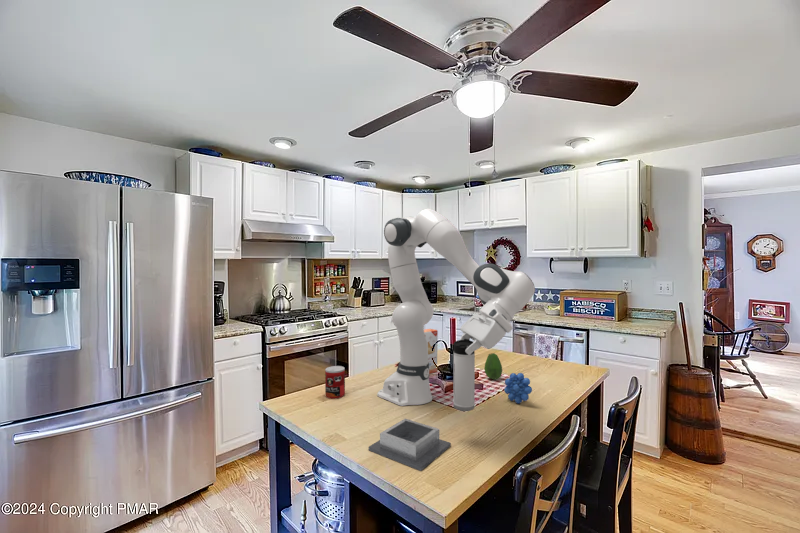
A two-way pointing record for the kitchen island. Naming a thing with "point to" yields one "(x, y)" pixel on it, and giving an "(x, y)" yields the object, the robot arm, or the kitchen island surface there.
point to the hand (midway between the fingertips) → (462, 349)
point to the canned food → (334, 382)
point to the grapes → (517, 387)
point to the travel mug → (463, 376)
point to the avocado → (493, 367)
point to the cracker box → (431, 338)
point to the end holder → (410, 444)
